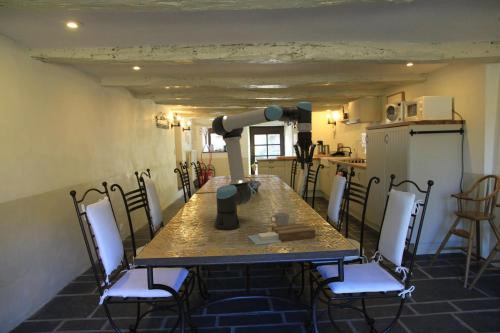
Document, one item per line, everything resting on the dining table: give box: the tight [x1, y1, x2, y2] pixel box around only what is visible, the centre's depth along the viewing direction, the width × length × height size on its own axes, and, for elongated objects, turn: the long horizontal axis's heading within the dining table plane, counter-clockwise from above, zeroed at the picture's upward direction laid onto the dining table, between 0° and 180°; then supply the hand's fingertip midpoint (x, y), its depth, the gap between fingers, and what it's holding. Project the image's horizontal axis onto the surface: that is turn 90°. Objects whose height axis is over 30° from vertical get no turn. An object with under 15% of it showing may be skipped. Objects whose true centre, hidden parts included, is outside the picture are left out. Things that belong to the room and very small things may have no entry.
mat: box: [247, 234, 282, 246], centre depth 164 cm, size 15×13×1 cm
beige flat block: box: [257, 231, 279, 241], centre depth 165 cm, size 6×9×2 cm, turn 107°
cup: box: [269, 211, 290, 226], centre depth 186 cm, size 11×8×8 cm
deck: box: [271, 223, 316, 243], centre depth 169 cm, size 14×18×4 cm
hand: (304, 175), depth 175 cm, fingers closed
